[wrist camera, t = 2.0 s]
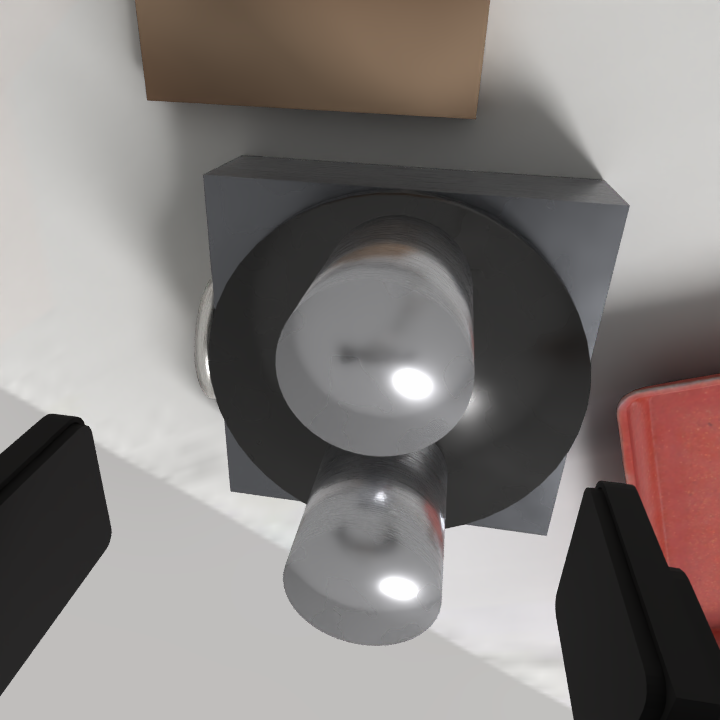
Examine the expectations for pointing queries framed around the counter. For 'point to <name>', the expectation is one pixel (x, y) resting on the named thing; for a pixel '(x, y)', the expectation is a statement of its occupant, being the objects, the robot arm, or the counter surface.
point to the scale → (490, 316)
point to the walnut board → (317, 54)
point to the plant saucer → (679, 476)
